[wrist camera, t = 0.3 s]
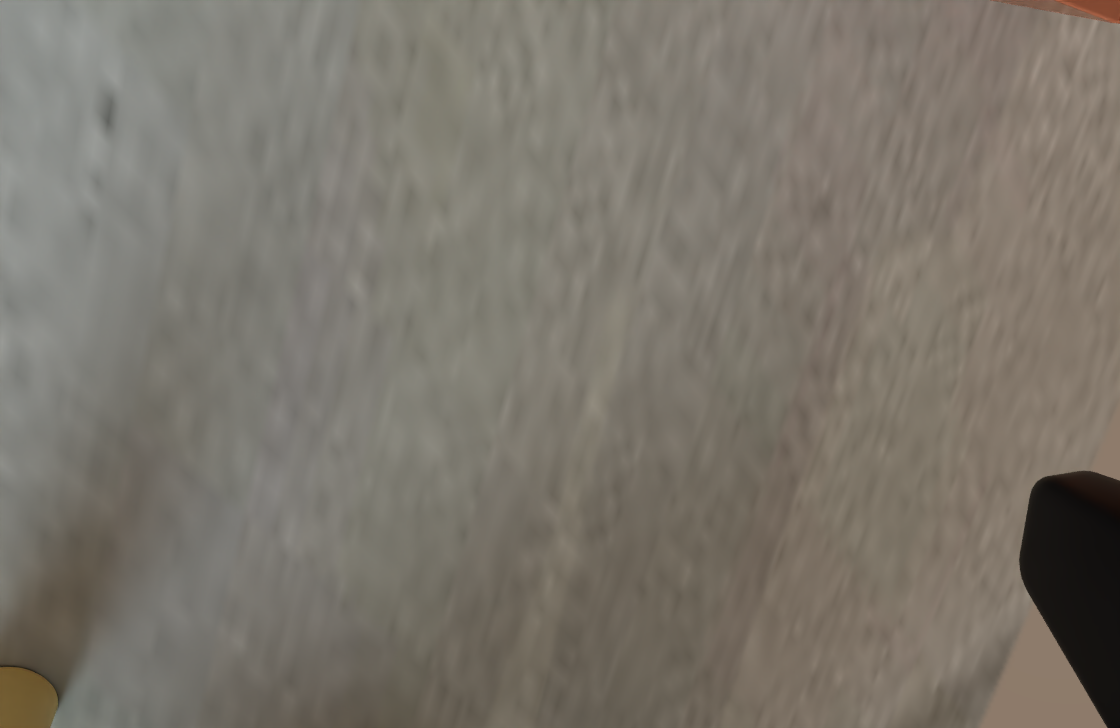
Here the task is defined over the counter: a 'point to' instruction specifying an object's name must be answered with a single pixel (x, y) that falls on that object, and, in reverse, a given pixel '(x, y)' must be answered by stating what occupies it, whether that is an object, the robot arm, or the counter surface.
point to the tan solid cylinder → (26, 699)
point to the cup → (1076, 8)
